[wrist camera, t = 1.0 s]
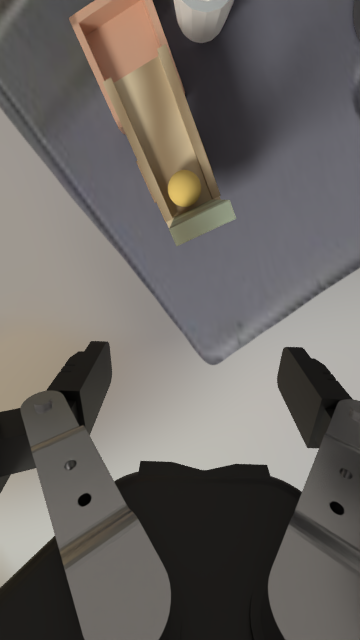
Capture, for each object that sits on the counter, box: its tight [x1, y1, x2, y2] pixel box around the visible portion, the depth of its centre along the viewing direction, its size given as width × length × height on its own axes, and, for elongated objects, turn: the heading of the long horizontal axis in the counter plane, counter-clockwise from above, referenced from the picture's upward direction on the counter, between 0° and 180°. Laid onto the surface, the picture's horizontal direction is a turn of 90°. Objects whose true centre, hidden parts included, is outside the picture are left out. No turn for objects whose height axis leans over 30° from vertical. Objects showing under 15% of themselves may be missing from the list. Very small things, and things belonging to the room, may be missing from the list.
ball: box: [168, 170, 201, 207], centre depth 26 cm, size 3×3×3 cm
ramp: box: [103, 44, 236, 246], centre depth 22 cm, size 6×14×13 cm, turn 24°
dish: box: [69, 0, 185, 134], centre depth 30 cm, size 8×10×3 cm
